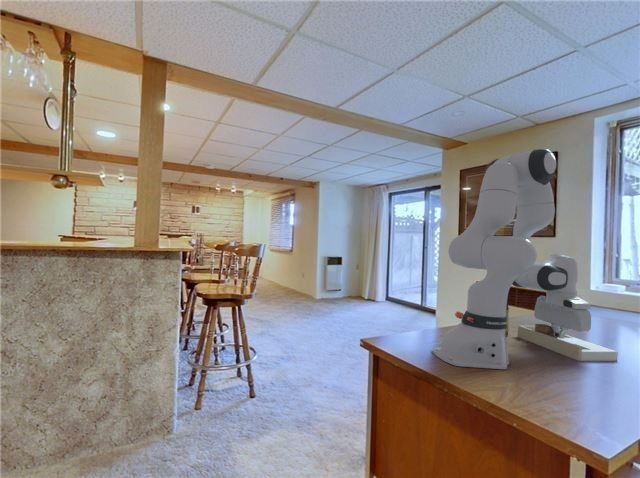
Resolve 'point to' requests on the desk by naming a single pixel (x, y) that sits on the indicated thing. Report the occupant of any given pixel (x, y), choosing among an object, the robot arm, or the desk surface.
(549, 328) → the walnut block
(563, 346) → the board
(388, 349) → the desk surface
